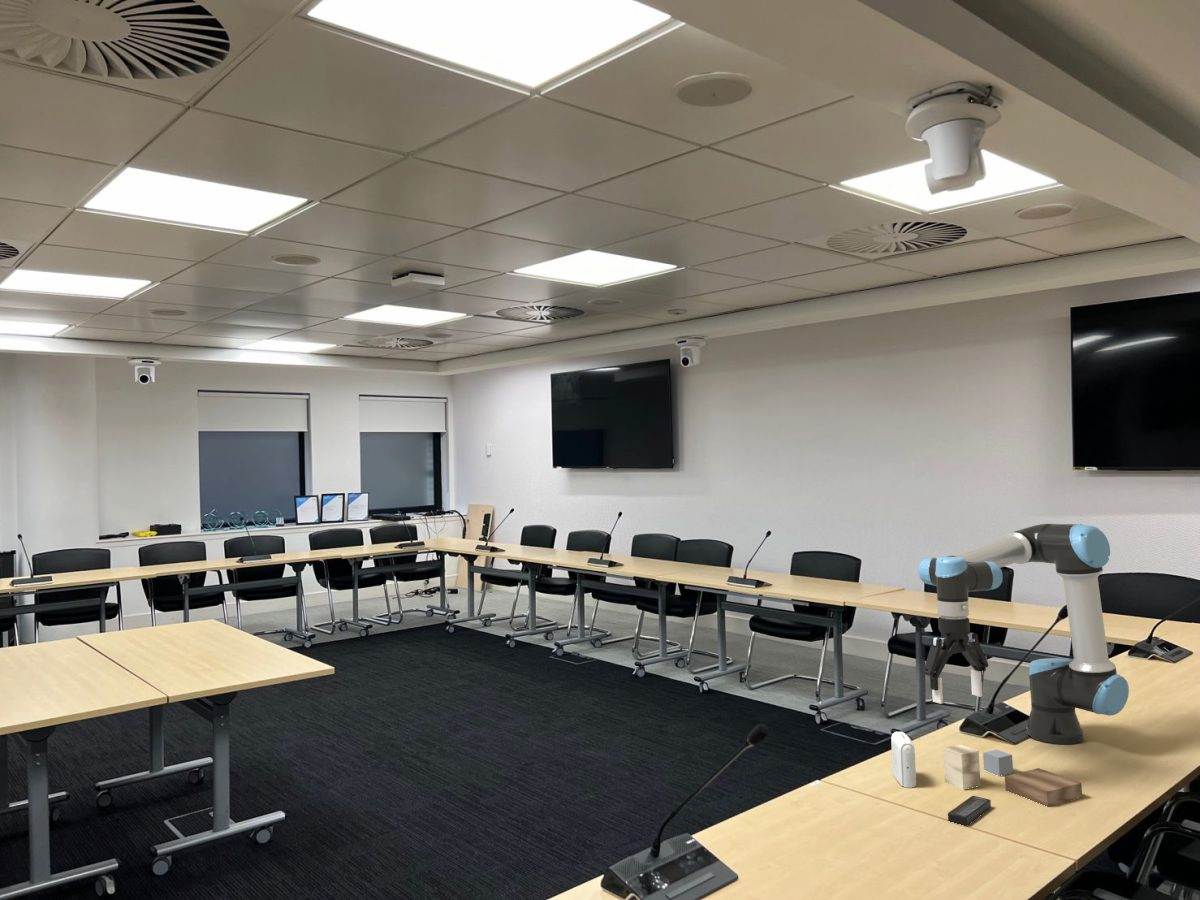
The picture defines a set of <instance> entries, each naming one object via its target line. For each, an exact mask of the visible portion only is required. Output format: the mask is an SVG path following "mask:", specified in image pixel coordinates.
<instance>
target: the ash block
mask: <svg viewBox="0 0 1200 900" xmlns="http://www.w3.org/2000/svg"><path fill="white" fill-rule="evenodd" d="M942 752H943V755H942V756H943V769H944V771H943V772H944V783H945V782H946V783H948V784H947V785H949V784H951V785H953V786H955V787H954V788H956V787H957V788H956V789H958V788H960V789H959V790H961V789H962V790H961V791H963V790H964V791H966V790H965V789H968V788H972V787H976V786H980V785H981V783H982V782H981V769H980V768H981V767H980V764H981V763H980V752H979V750H978V749H974V748H972V747H968V746H965V745H962V744H956V745H952V746H951V745H950V746H948V747H943V749H942ZM946 783H945V784H946ZM951 785H950V786H951ZM953 786H952V787H953ZM980 787H981V786H980ZM976 788H977V787H976ZM972 789H973V788H972ZM968 790H969V789H968Z"/></svg>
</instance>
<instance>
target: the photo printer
mask: <svg viewBox="0 0 1200 900" xmlns="http://www.w3.org/2000/svg"><path fill="white" fill-rule="evenodd" d="M890 740H891V741H890V742H891V762H892V763H891V764H892V775H893V777H894V778H895V780H896V781H897V782H898V783H899V785H900V786H901V787H903V788H905V787H907V788H908V789H912V787H913V788H916V786H917V772H916V753H915V745H914V744H913V741H912V740H911V738H910V736H908V735H907V734H906V733H905V732H903V731H895V732H893V733H892V735H891V739H890Z"/></svg>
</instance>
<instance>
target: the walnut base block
mask: <svg viewBox="0 0 1200 900" xmlns="http://www.w3.org/2000/svg"><path fill="white" fill-rule="evenodd" d="M1004 787H1005V792H1008V791H1009V792H1008V793H1010V792H1011V793H1010V794H1013V793H1014V794H1013V795H1016V794H1017V795H1016V796H1018V795H1019V796H1018V797H1021V796H1022V797H1021V798H1023V797H1025V798H1024V799H1026V798H1027V799H1026V800H1028V799H1030V800H1029V801H1031V800H1032V802H1033V801H1034V803H1036V802H1037V804H1039V803H1040V804H1039V805H1041V804H1042V805H1041V806H1044V805H1045V806H1044V807H1046V806H1047V808H1050V807H1054V806H1057V805H1060V803H1061V804H1065V803H1068V801H1069V802H1071V800H1072V801H1075V800H1074V799H1076V800H1079V799H1078V798H1080V799H1082V798H1083V787H1082V782H1080V781H1077V780H1074V779H1071V778H1068V777H1065V776H1063V775H1059V774H1056V773H1054V772H1051V771H1048V770H1045V769H1042V768H1040V767H1038V768H1033V769H1029V770H1025V771H1021V772H1017V773H1013V774H1009V775H1005V776H1004ZM1064 802H1065V803H1064ZM1053 805H1054V806H1053ZM1049 806H1050V807H1049Z"/></svg>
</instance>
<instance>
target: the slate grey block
mask: <svg viewBox="0 0 1200 900" xmlns="http://www.w3.org/2000/svg"><path fill="white" fill-rule="evenodd" d="M982 755H983V756H982V757H983V759H982V760H983V771H984V770H986V771H988V772H990V773H989V774H991V773H993V774H995V775H994V776H996V775H998V776H997V777H999V776H1001V775H1005V776H1007V775H1006V774H1009V775H1012V774H1011V773H1013V774H1014V764H1013V763H1014V762H1013V754H1010V753H1008V752H1005V751H1002V750H999V749H994V750H987V751H983V752H982ZM986 771H985V772H986ZM988 772H987V773H988ZM993 774H992V775H993ZM1001 777H1002V776H1001Z"/></svg>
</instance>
